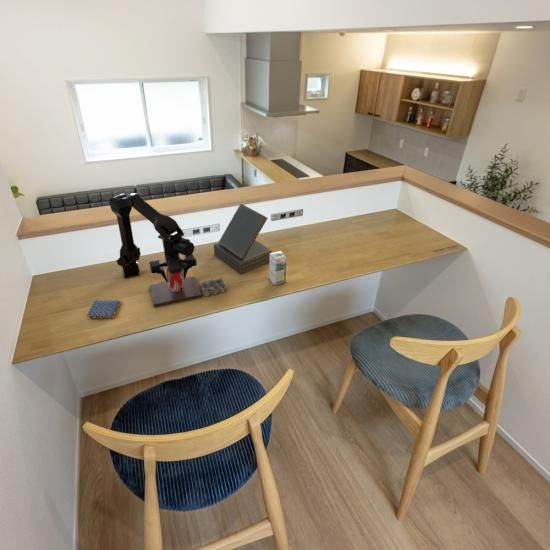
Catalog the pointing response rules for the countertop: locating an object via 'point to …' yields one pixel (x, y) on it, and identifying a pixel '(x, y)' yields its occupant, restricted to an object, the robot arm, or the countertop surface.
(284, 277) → the milk carton
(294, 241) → the countertop surface
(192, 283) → the cutting board
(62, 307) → the countertop surface
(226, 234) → the dark grey display stand
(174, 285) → the soda can
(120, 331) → the countertop surface
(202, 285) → the grey lumpy block
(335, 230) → the countertop surface
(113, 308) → the woven mat
